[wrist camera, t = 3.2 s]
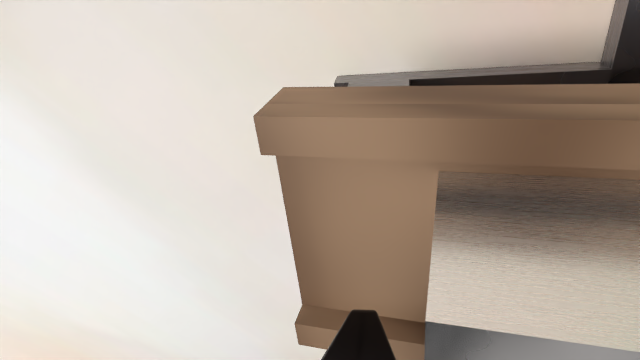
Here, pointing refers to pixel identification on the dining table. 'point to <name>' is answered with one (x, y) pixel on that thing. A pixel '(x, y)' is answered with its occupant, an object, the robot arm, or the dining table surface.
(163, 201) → the dining table surface
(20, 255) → the dining table surface
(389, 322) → the beam
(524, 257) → the rider
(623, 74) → the stand
